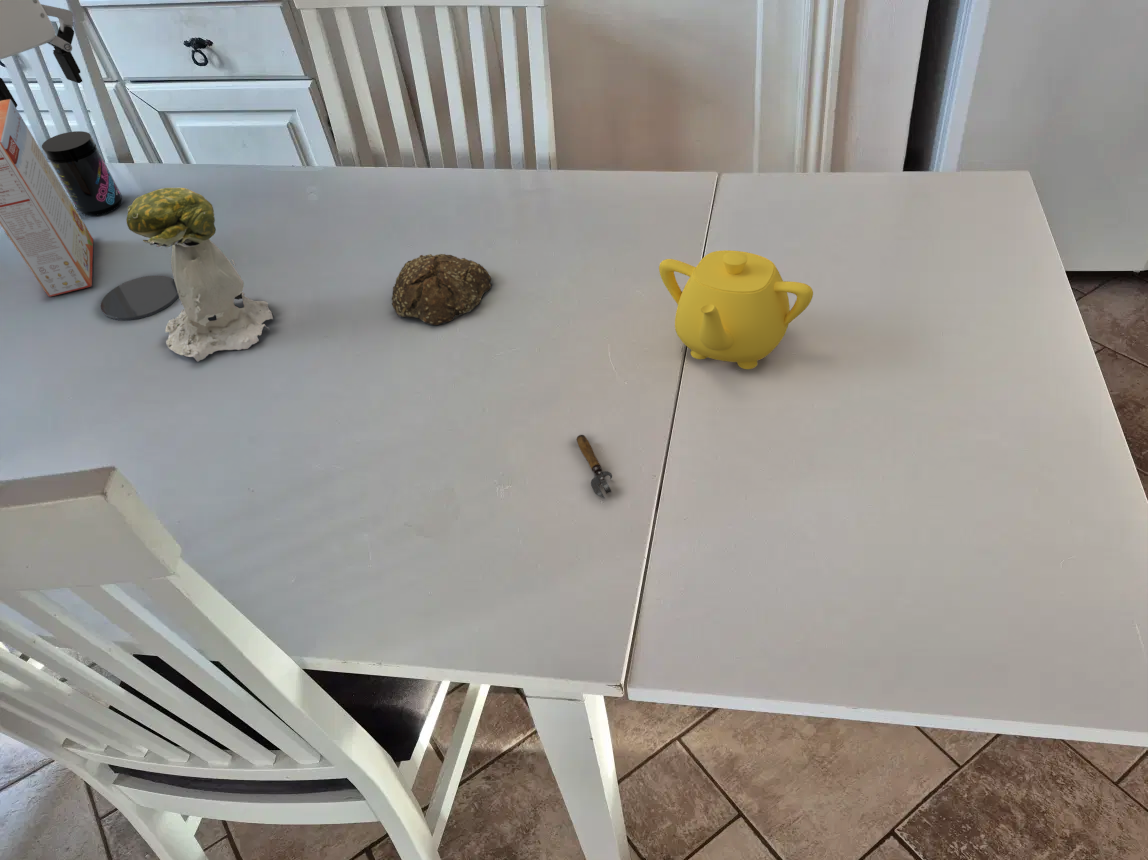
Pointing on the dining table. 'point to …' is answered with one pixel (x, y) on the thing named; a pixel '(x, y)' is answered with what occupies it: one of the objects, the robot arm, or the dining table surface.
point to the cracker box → (40, 211)
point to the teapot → (733, 305)
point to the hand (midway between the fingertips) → (43, 93)
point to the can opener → (594, 466)
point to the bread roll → (439, 288)
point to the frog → (198, 274)
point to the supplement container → (83, 172)
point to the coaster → (139, 297)
